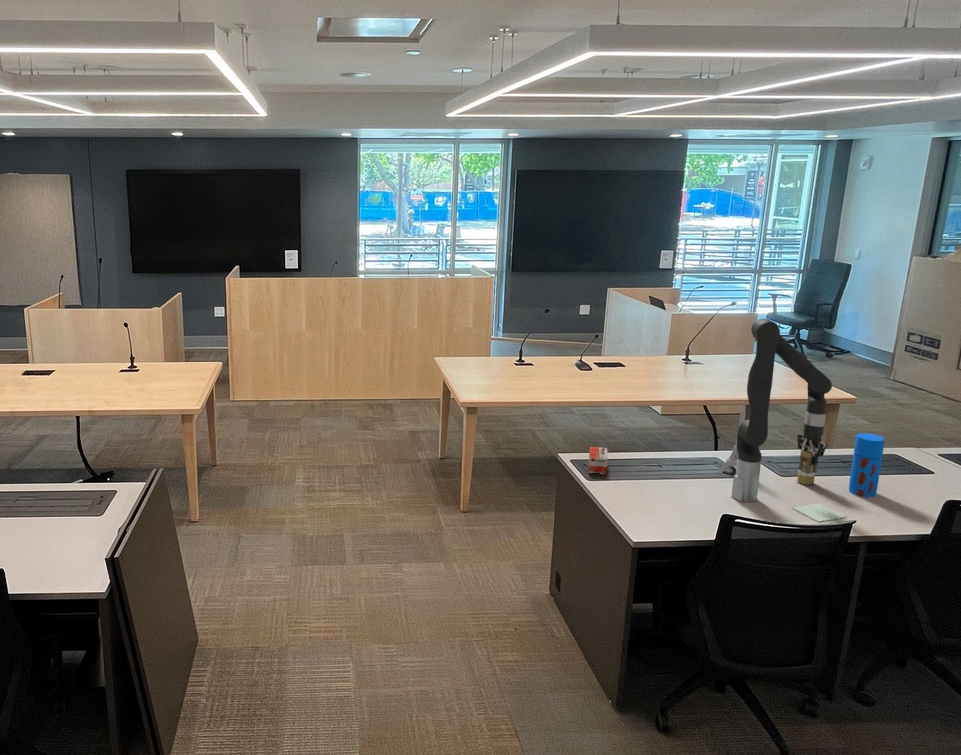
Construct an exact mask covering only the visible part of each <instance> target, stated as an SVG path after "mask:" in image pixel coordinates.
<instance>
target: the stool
mask: <svg viewBox="0 0 961 755" xmlns="http://www.w3.org/2000/svg"><path fill="white" fill-rule="evenodd" d="M799 456H800V457H799V462H800V464H798V470H802V469H803V462H804V459H806V460H807V464H806V473H807V474H808V473H809V472H810V465H811V461H812V456H813V453H812V451H811V450H807V451H801V450H800V455H799ZM819 459H820V457H818V461H820V460H819ZM818 463H819V462H818ZM818 463H817V464H816V465H814V467H813V472H814V473H815V474H816V473H817V472H818Z"/></svg>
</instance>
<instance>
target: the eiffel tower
mask: <svg viewBox="0 0 961 755" xmlns="http://www.w3.org/2000/svg"><path fill="white" fill-rule="evenodd" d="M746 416H747V415H746V411H745V408H742V410H741V412H740V415H739V417H740V420H739V425H738V427H739V426H740V424H741V423H742V422H743V421H745V420H746V419H745V418H746ZM737 459H738V452H737V439H736V441H735V445H733V449H732V452H731V454H730V456H729V457H728V458H726V459H725V460H726V461H725V462H724V463H723V464H722V466H720V468H719V469H718V470H717V471H716V473H719V474H724V473H725V472H726V469H727V468H728V467H729V468H734V467H736V468H737ZM723 472H724V473H723Z"/></svg>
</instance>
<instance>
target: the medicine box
mask: <svg viewBox="0 0 961 755" xmlns="http://www.w3.org/2000/svg"><path fill="white" fill-rule="evenodd" d="M588 454H589V456H588V472H589V471H593V472H602V473H606V474H607V470H608V448H606V447H597V446H590V447H589V453H588Z"/></svg>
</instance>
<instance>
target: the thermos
mask: <svg viewBox="0 0 961 755" xmlns="http://www.w3.org/2000/svg"><path fill="white" fill-rule="evenodd" d="M884 447H885V438H884V437H883V436H881V435H878V434H874V433H868V432H867V433H858V434H856V436H855V442H854V449H853V455H852V462H851V470H850V474H849V475H850V476H849V484H848V491H849V493H850V494H852V495H854V496H857V497H861V498H873V497H876V495H877V491H878V486H879V485H878V484H879V480H880V474H881V473H880V472H881V467H882V460H883V459H882V458H883V453H884Z"/></svg>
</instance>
